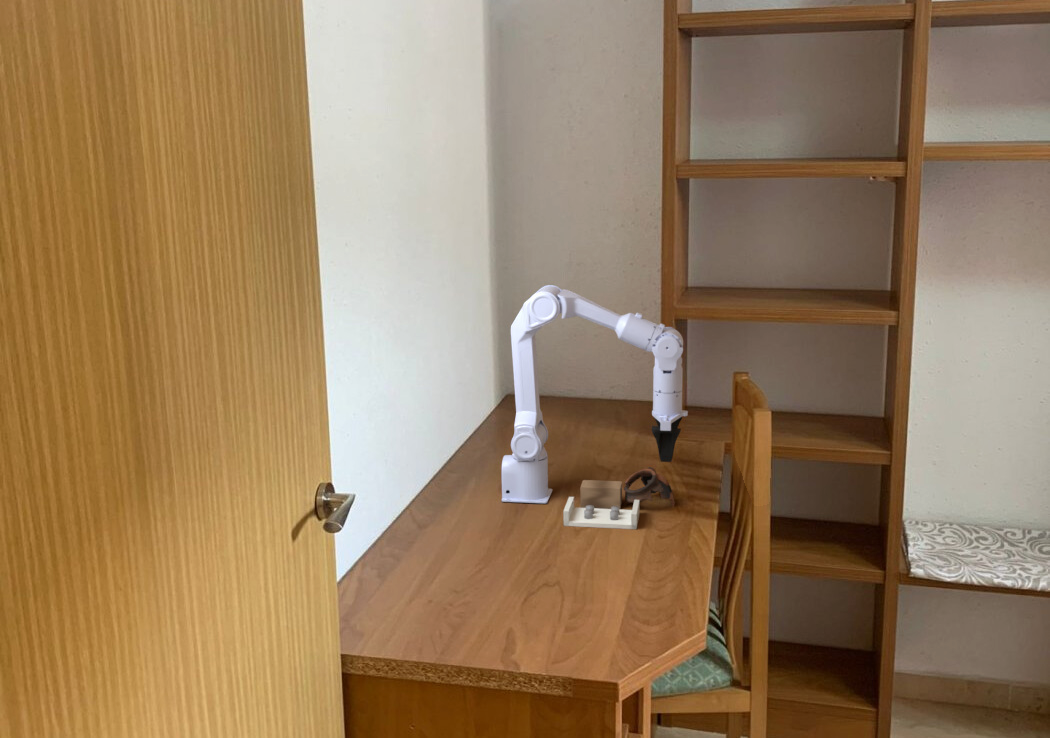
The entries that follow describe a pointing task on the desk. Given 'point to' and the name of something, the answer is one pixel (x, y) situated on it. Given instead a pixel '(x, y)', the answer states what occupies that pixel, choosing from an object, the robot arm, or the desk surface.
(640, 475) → the pottery mug
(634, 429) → the desk surface
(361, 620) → the desk surface
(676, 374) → the robot arm
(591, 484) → the tan rectangular block
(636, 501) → the peg stand
